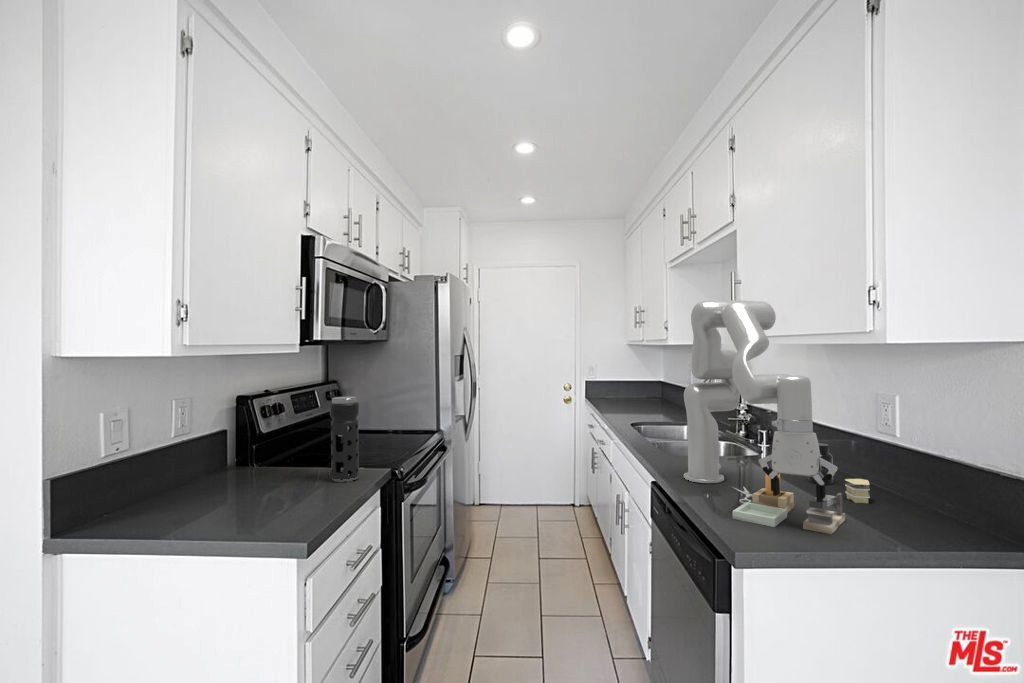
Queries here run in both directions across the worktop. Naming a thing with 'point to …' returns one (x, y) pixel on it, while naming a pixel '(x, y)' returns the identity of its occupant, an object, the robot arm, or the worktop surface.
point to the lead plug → (769, 484)
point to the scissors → (745, 494)
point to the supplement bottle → (826, 456)
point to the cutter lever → (823, 502)
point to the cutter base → (825, 527)
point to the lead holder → (774, 499)
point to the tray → (760, 514)
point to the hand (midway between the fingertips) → (797, 497)
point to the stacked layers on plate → (858, 490)
